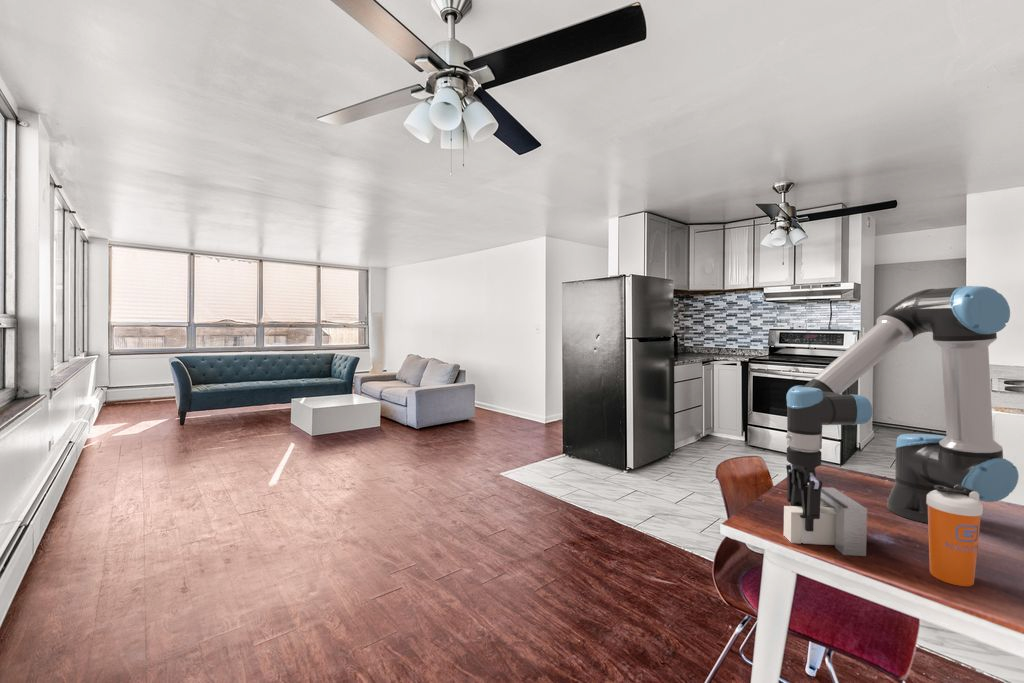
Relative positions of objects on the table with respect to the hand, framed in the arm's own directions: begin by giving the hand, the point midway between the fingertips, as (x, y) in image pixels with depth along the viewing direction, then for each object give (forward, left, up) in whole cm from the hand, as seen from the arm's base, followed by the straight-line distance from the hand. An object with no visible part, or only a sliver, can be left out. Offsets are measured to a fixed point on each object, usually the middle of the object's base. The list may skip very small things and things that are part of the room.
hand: (802, 537), depth 119 cm
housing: (-9, 0, -1) cm, 9 cm away
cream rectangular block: (-4, 0, -1) cm, 4 cm away
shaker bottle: (-24, +15, -1) cm, 28 cm away
